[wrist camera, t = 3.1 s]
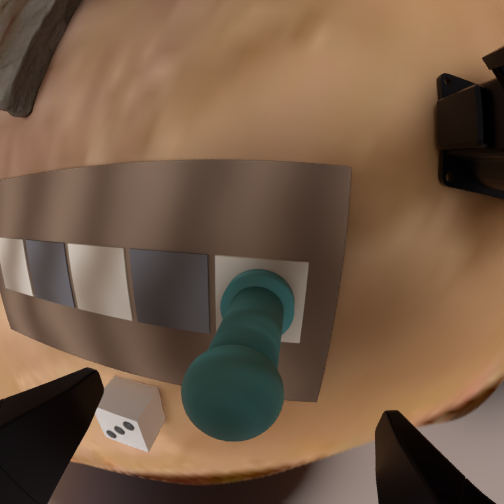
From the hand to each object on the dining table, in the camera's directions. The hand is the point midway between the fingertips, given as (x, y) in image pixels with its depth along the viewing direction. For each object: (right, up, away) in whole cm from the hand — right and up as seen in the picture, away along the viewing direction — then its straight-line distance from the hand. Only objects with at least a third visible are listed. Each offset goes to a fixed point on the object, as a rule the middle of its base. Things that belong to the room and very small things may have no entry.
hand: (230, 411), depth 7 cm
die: (-9, -7, +13) cm, 17 cm away
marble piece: (-19, +25, +6) cm, 32 cm away
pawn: (+1, +2, +7) cm, 8 cm away
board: (-9, +3, +10) cm, 14 cm away
